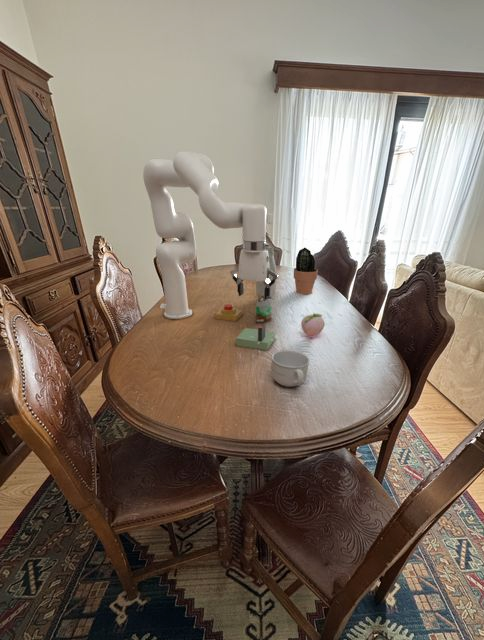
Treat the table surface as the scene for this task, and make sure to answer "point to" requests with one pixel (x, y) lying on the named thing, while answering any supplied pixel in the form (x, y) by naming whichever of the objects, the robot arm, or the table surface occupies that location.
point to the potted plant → (305, 272)
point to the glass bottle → (260, 285)
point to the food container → (263, 309)
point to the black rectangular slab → (261, 332)
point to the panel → (255, 339)
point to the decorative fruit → (312, 324)
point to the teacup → (289, 367)
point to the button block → (228, 314)
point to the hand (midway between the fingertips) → (253, 296)
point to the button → (228, 307)
